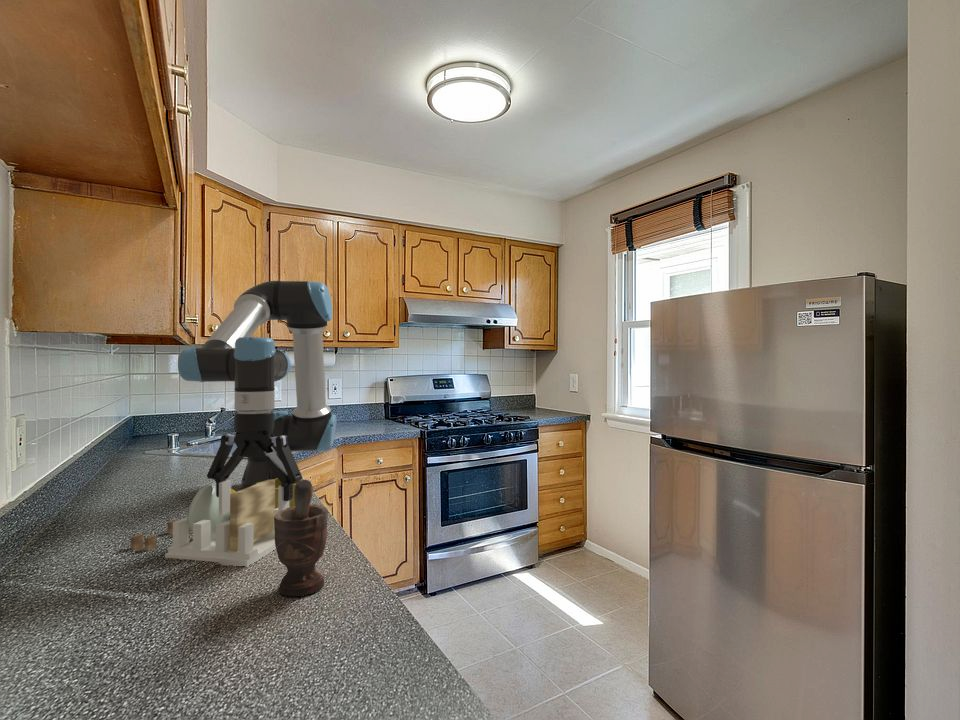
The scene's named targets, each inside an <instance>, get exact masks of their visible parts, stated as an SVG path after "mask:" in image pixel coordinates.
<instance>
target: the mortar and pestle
mask: <svg viewBox="0 0 960 720" xmlns="http://www.w3.org/2000/svg"><path fill="white" fill-rule="evenodd" d="M313 492H314V487H313V484H312V482H311V481H310V480H308V479H301V481H299V482H298V483H297V484H296V486H295V491H294V499H295V505H296V506H294V507H289V508H286V509H284V510H281V511H279V512H278V513H276V515H275V516H274V529H275V546H276V549H275V550H276V553H277V554H276V555H277V557H278V561H280V563H282V565H284V566H285V567H286V569H287V571H286V573H285V574H284V576H283V577H282V578H281V581H280V583H279V586H278V592H279V594H281V595H282V596H287V597H297V596H302V597H304V596H303V595H306V596H309V595H308V594H311V593H314V592H316V591H317V592H319V591H320V590H322V587H324V585H325V578H324V574H323V573H322V572H320V571H319V570H318V569H317V568H316V563H317V562H318V561H320V559H321V558H322V556H323V554H324V552H325V548H326V545H327V538H328V518H329V517H328V516H329V515H328V514H329V509H328V508H327V507H326V506H323V505H320V504H316V503H315V504H311V502H312V500H313V499H312V498H313ZM319 589H320V590H319ZM317 592H316V593H317ZM314 594H315V593H314ZM311 595H312V594H311Z"/></svg>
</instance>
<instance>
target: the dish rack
mask: <svg viewBox="0 0 960 720" xmlns="http://www.w3.org/2000/svg"><path fill="white" fill-rule="evenodd" d="M276 513H278V508H276V509H274V516H275V515H276ZM177 520H178V519H177ZM189 537H190V533H189V524H188V518H180V519H179V520H178V521H175V522H173V535H172V545H171V546H169V547H168V549H167V550H168V551H167V552H166V553H164V558H167V559H179V560H191V561H204V562H215V563H216V564H221V565H220V566H225V565H233V566H232V567H236V566H245V567H244V568H249V567H250V566H251V565H250V564H252V565H253V564H255V563H256V562H258V561H260V560H261V559H263V558H264V557H266V556H268V555H269V554H271V553H272V552H274V551H275V550H276V546H275V529H274V525H273V532H271V533H269V534H267V535H266V536H264V537H262V538H260V539H258V540H257V541H255V542H253V541H254V523H246V524H244V525H242V526H240V527H239V539H238V551H237V552H236V551H230V521H228V522H227V521H225V522H222V523H220V524H218V525H216V536H215V537H213V538H211V520H201V521H199V522H197V523H194V524H193V534H192V540H191V541H190V538H189ZM273 550H274V551H273ZM270 552H271V553H270ZM262 557H263V558H262ZM259 559H260V560H259ZM254 562H255V563H254ZM249 565H250V566H249Z"/></svg>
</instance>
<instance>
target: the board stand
mask: <svg viewBox="0 0 960 720" xmlns="http://www.w3.org/2000/svg"><path fill="white" fill-rule="evenodd" d="M175 521H178V519H174V520H171V521H168V522H167V524H166V525H167V526H166V527H167V529H166V534H167V535H171V536H173V522H175ZM190 533H192V532H191V531H190V528H189V534H190ZM157 537H158V536H157V534H152V535H150V536H147V537H144V534H143V533H138V534H136V535H133V536H130V551H131V550H132V551H141V552H149V551H152V550H154V549H156V548H157V545H158V544H157V540H158V539H157Z"/></svg>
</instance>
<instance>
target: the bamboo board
mask: <svg viewBox="0 0 960 720" xmlns="http://www.w3.org/2000/svg"><path fill="white" fill-rule="evenodd" d="M274 509H275V480H266V481H263V482H261V483H258V484H256V485H253V486H250V487H248V488H245V489H240V490H237V491H236V492H235V493H232V494H230V518H229V522H230V551H236V552H237V551H238V539H239V527H240V526H242V525H244V524H246V523H254V541H253V542H255V541H257V540H258V539H260V538H262V537H264V536H266V535H267V534H269V533H271V532H273V525H274Z"/></svg>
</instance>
